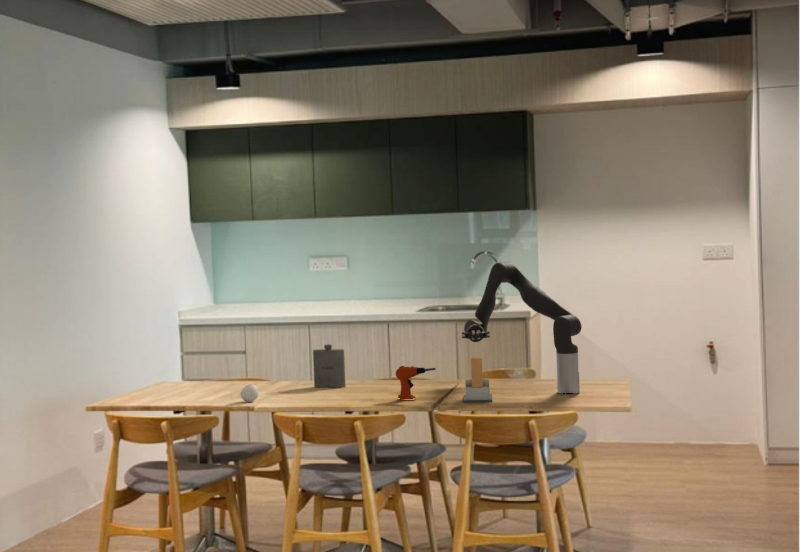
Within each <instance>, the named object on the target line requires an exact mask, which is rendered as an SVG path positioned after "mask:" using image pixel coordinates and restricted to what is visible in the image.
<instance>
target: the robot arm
mask: <svg viewBox="0 0 800 552" xmlns="http://www.w3.org/2000/svg"><path fill="white" fill-rule="evenodd" d="M503 283H506V284H507V283H508V284H509V285H511V286H512V287H514V288H515V289H516V290H517V291H518V293H519V294H520V298H521V300H522V301H523V302H524V304H525V305H526V306H528V307H529V308H530V309H532V310H533V311H534V312H535V313H538V314H540V315H542V316H545V317H548V318H550V319H551V320H553V324H552V325H553V326H552V330H553V331H552V332H553V344H554V348H555V350H556V351H555V352H556V353H555V355H556V386H557V387H556V388H557V393H558V394H563V393H565V394H566V393H573V394H579V392H580V388H581V387H580V370H579V348H578V345H576V344H574V343H573V341H572V337H573V336H574V337H575V336H577V335H579V334H580V333H581V331H582V323H581V321H580V319H579V317H577V316H576V315H575V314H573V313H572V312H570V311H569V310H567V309H566V308H564V307H563V306H561V305H560V304H559V303H558V302H557V301H555V300H554V298H551V297H550V296H549V295H548V294H547V293H546V292H545V291H543V290H542V289H541V288H540V287H539V286H538V285H536V284H535V283H534V282H532V280H530V279H529V278H528V277H527V276H526V275H524V273H523V272H522V271H521V270H520V269H519V268H518V267H517V266H516V265H515V264H514V263H512V262H509V261H508V262H507V261H504V262H503V261H500V262H495V263H494V264H493V265H492V267H491V269H490V271H489V275H488V278H487V282H486V285H485V289H484V293H483V295H482V297H481V300H480V303H479V304H478V306H477V308H476V310H475V312H474V316H475V318H477V320H479V321H476V320H475V319H469V320H467V321H466V322H465V324H464V329H463V330H464V331H462V332H461V338H462V339H467V340H469V341H471V342H473V343H479V342H481V341H482V340H483V339H487V338H490V337H491V333H490V332H491V331H488V326H489V325H488V324H489V322H490V321H489V320H490V318H491V316H492V314H493V312H494V310H495V308H496V302H497V301H496V299H497V297H496V296H497V291H498V289H499V287H500V286H501V285H502V284H503ZM565 394H564V395H565Z"/></svg>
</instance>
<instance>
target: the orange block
mask: <svg viewBox="0 0 800 552" xmlns="http://www.w3.org/2000/svg"><path fill="white" fill-rule="evenodd" d="M470 363H471V364H470V368H471V369H470V370H471V371H470V372H471V379H472V387H483V380H482V379H483V357H482V356H471V357H470Z"/></svg>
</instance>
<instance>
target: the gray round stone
mask: <svg viewBox="0 0 800 552" xmlns="http://www.w3.org/2000/svg"><path fill="white" fill-rule="evenodd" d="M239 395H240V398H241V399H242V400H243V401H244V402H247V403H252V402H254V401H256V400H257V399H258V397H259V389H258V387H257V386H256V385H255V384H250V383H249V384H246V385H245V386H244V387H243V388H242V389H241V391H240V393H239Z"/></svg>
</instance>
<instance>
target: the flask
mask: <svg viewBox="0 0 800 552" xmlns="http://www.w3.org/2000/svg"><path fill="white" fill-rule="evenodd" d="M332 348H333V345H332V344H330V343H329V344H328V343H327V344H324V348H320V349H314V350H312V355H313V358H312V361H313V382H314V383H313V385H314V388H316V389H317V388H318V389H341V388H342V387H343V388H345V387H346V364H345V363H346V362H345V359H346V358H345V349H343V348H333V349H332Z"/></svg>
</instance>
